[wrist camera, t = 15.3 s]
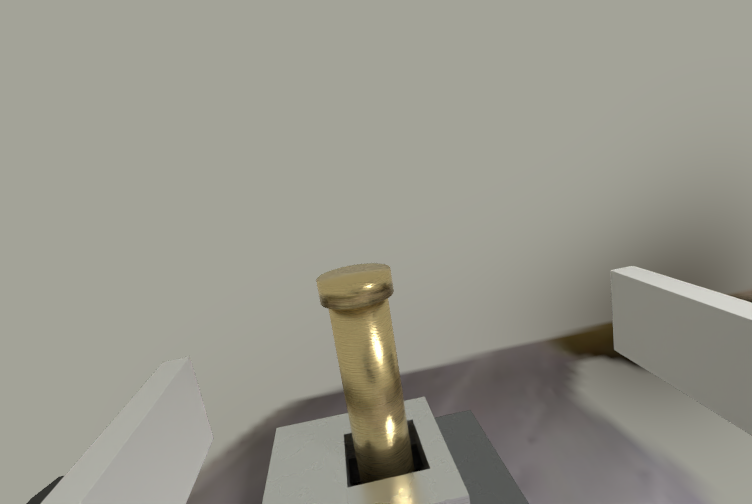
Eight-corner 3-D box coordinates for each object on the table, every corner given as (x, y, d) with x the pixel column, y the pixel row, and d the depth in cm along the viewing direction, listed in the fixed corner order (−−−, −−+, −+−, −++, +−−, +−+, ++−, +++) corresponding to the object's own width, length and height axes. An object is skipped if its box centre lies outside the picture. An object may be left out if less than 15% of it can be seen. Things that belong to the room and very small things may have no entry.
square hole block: (473, 432, 33) (467, 387, 32) (535, 540, 23) (530, 480, 22) (287, 473, 31) (276, 428, 31) (269, 607, 22) (253, 546, 21)
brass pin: (416, 471, 29) (384, 259, 26) (432, 522, 25) (396, 275, 22) (357, 485, 29) (317, 271, 26) (362, 539, 25) (315, 290, 22)
